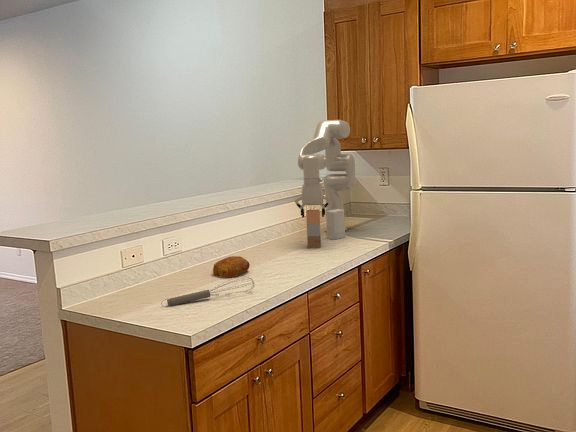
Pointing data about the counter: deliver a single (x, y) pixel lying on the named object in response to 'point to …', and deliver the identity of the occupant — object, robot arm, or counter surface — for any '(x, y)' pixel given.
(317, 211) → the terracotta block
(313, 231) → the slate block
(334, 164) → the robot arm
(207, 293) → the kitchen whisk
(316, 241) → the walnut block
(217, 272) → the brown bread loaf
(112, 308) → the counter surface
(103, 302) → the counter surface
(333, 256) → the counter surface
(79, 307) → the counter surface
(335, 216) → the skincare box
